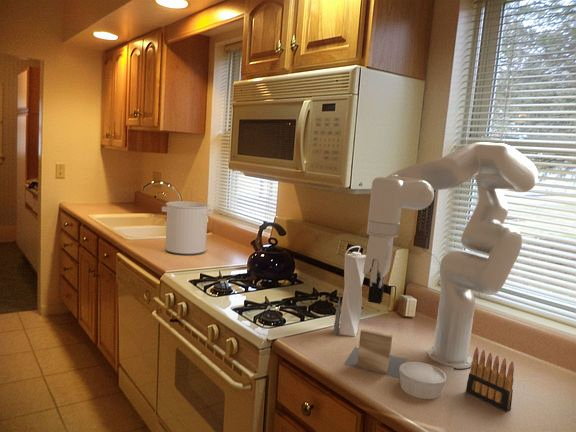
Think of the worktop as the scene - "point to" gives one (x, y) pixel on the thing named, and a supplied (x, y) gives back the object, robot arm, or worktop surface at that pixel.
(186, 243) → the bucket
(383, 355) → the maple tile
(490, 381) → the ammunition clip
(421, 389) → the ramekin
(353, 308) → the skyscraper
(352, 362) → the mat
